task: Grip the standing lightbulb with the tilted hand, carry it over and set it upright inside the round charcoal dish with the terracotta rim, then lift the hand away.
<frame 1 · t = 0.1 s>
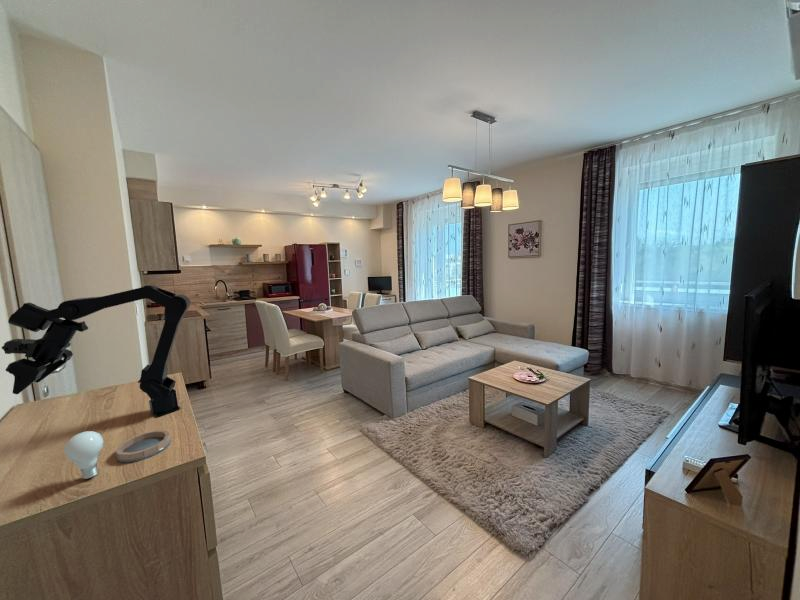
hand: (26, 387, 91), 15 cm above the dresser top, tool tilted 35°, fingers open, 9 cm apart
round dish: (145, 448, 84), on the dresser top
lightbulb: (90, 478, 74), on the dresser top
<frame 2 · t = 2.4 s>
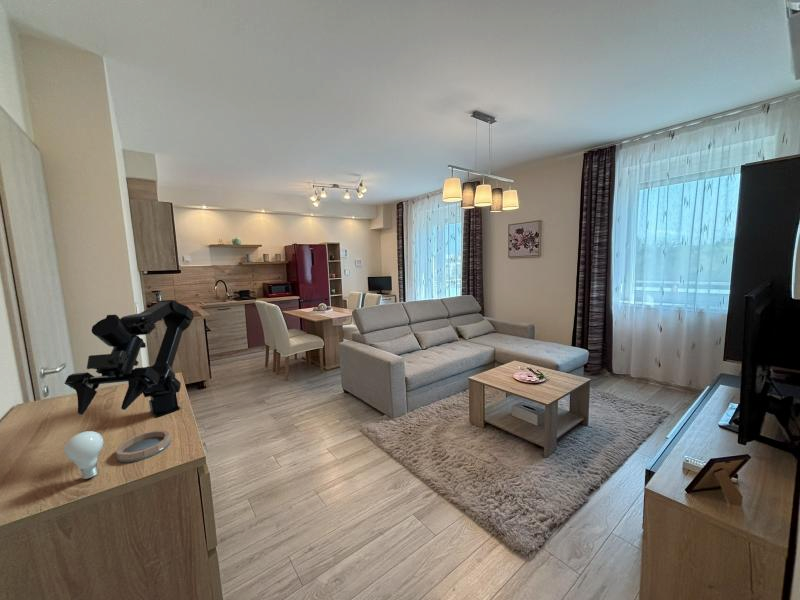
hand: (101, 411, 79), 13 cm above the dresser top, tool tilted 45°, fingers open, 9 cm apart
nothing on the dresser top moved.
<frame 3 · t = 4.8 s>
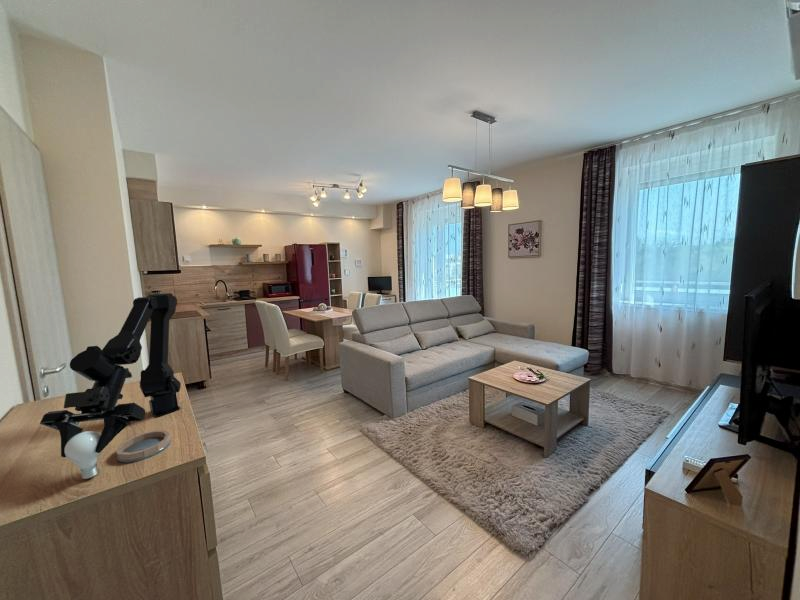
hand: (80, 454, 72), 7 cm above the dresser top, tool tilted 45°, fingers closed on lightbulb, 6 cm apart
lightbulb: (90, 478, 74), on the dresser top, touching gripper
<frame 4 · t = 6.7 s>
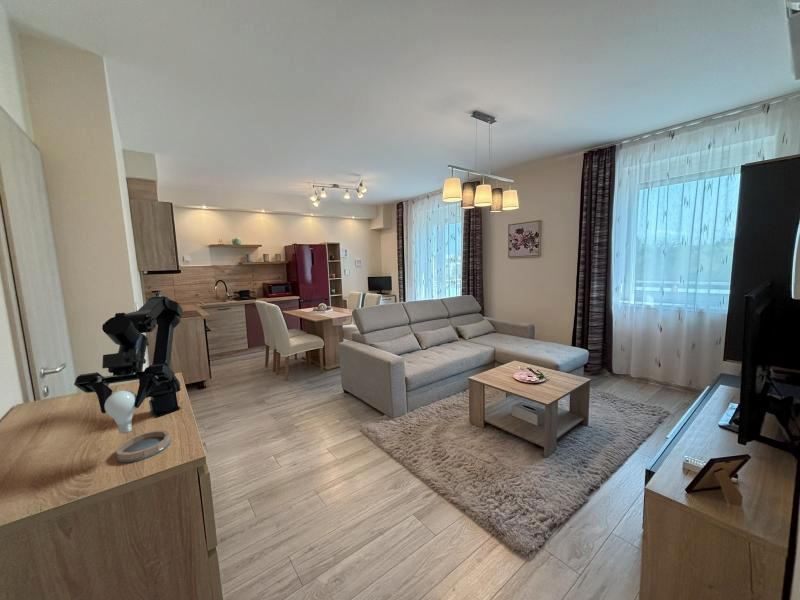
hand: (120, 410, 78), 13 cm above the dresser top, tool tilted 45°, fingers closed on lightbulb, 6 cm apart
lightbulb: (126, 433, 81), point 6 cm above the dresser top, touching gripper
when the fingers open (8 cm above the dresser top, at t = 8.6 s): lightbulb drops 1 cm, resting on round dish.
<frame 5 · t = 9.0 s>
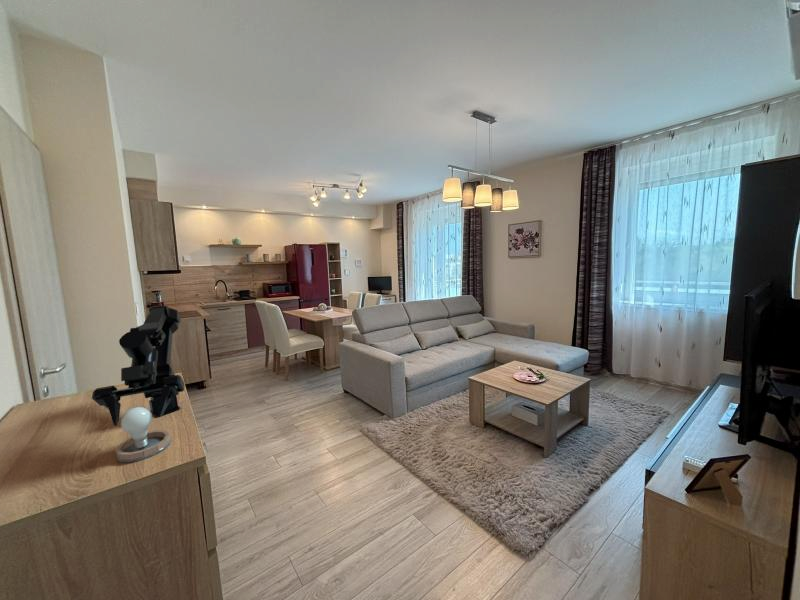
hand: (138, 420, 82), 9 cm above the dresser top, tool tilted 45°, fingers open, 9 cm apart
lightbulb: (142, 447, 84), resting on round dish
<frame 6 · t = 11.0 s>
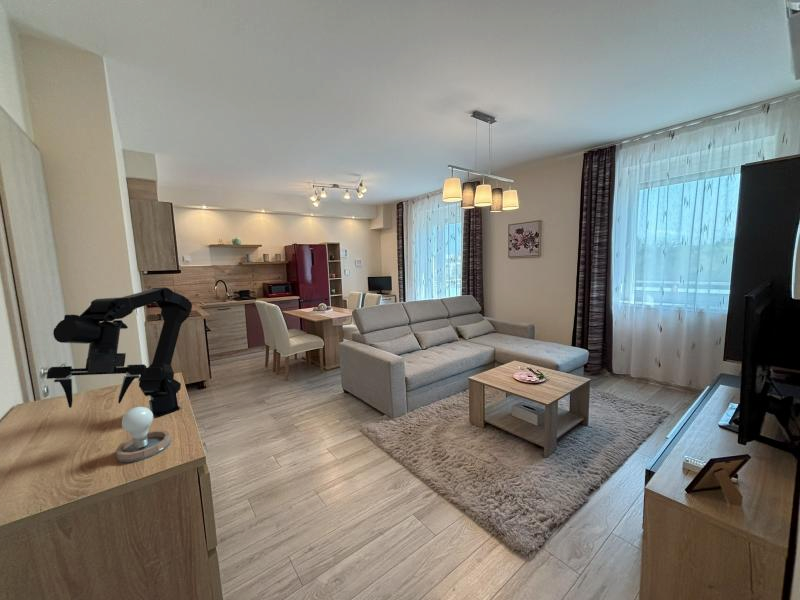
hand: (95, 405, 83), 13 cm above the dresser top, tool tilted 20°, fingers open, 9 cm apart
nothing on the dresser top moved.
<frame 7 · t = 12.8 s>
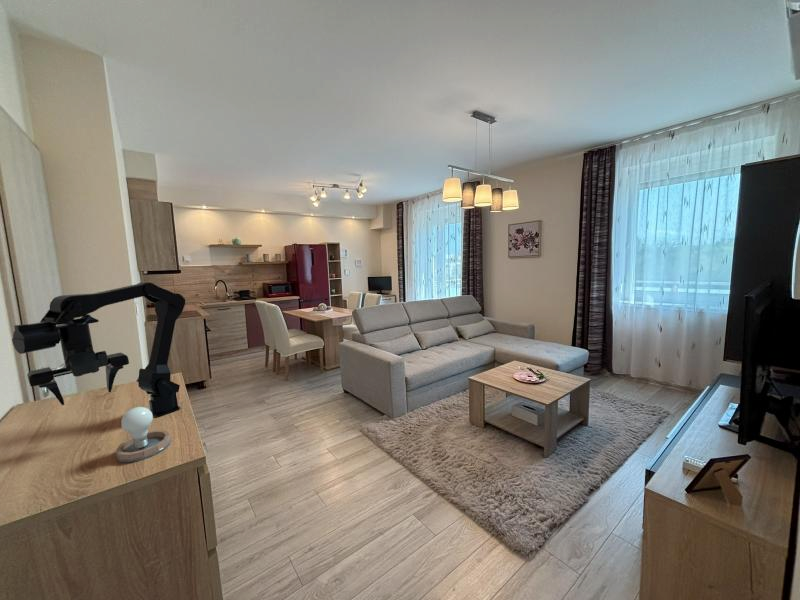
hand: (87, 398, 87), 13 cm above the dresser top, tool pointing down, fingers open, 9 cm apart
nothing on the dresser top moved.
at the end: lightbulb 0.5 cm off-centre on the round dish, point 0.4 cm above the round dish's base; lightbulb tilted 0°; the gripper is holding nothing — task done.
